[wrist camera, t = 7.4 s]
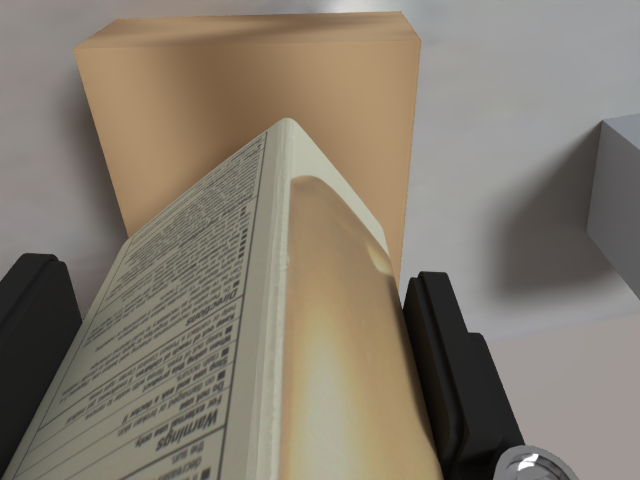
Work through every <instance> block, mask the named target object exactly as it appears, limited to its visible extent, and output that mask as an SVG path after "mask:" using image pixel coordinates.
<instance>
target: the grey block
mask: <svg viewBox="0 0 640 480" xmlns="http://www.w3.org/2000/svg"><path fill="white" fill-rule="evenodd" d="M586 233H587V234H588V235H589V237H590V238H591V239H592V240H593V242H594V243H595V244H596V245H597V247H598V248H599V249H600V250H601V252H602V253H603V254H604V256H605V257H606V258H607V259H608V261H609V262H610V263H611V264H612V266H613V267H614V268H615V269H616V271H617V272H618V273H619V275H620V276H621V277H622V278H623V280H624V281H625V282H626V283H627V285H628V286H629V287H630V288H631V290H632V291H633V292H634V294H635V295H636V296H637V297H638V299H639V300H640V113H639V114H634V115H628V116H622V117H616V118H611V119H605V120H602V126H601V133H600V140H599V146H598V153H597V160H596V167H595V174H594V181H593V187H592V194H591V201H590V208H589V215H588V221H587V228H586Z"/></svg>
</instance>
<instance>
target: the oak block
mask: <svg viewBox="0 0 640 480" xmlns="http://www.w3.org/2000/svg"><path fill="white" fill-rule="evenodd" d="M420 49H421V39H420V37H419V36H418V35H417V33H416V32H415V30H414V29H413V28H412V26H411V25H410V24H409V22H408V21H407V19H406V18H405V17H404V15H403V14H402V12H401V11H397V12H358V13H319V14H280V15H241V16H202V17H164V18H125V19H117V20H115V21H114V22H112V23H111V24H109V25H108V26H106V27H105V28H103V29H102V30H100V31H99V32H97V33H96V34H94V35H93V36H91V37H90V38H88V39H87V40H85V41H84V42H82V43H81V44H79V45H78V46H76V47H75V48H73V52H74V55H75V59H76V62H77V66H78V69H79V72H80V76H81V79H82V82H83V86H84V89H85V93H86V96H87V99H88V103H89V106H90V109H91V113H92V116H93V120H94V123H95V126H96V130H97V133H98V136H99V140H100V143H101V146H102V150H103V153H104V157H105V160H106V163H107V167H108V170H109V173H110V177H111V180H112V184H113V187H114V190H115V194H116V197H117V200H118V204H119V207H120V211H121V214H122V217H123V221H124V224H125V227H126V231H127V234H128V238H130V237H132V236H133V235H134V234H135V233H136V232H137V231H139V230H140V229H141V228H142V227H143V226H144V225H145V224H147V223H148V222H149V221H150V220H151V219H153V218H154V217H155V216H156V215H157V214H159V213H160V212H161V211H162V210H163V209H165V208H166V207H167V206H168V205H169V204H171V203H172V202H173V201H174V200H176V199H177V198H178V197H179V196H181V195H182V194H183V193H184V192H186V191H187V190H188V189H189V188H191V187H192V186H193V185H194V184H196V183H197V182H198V181H199V180H201V179H202V178H203V177H204V176H206V175H207V174H208V173H209V172H211V171H212V170H213V169H215V168H216V167H217V166H218V165H220V164H221V163H222V162H224V161H225V160H226V159H228V158H229V157H230V156H232V155H233V154H234V153H236V152H237V151H238V150H240V149H241V148H242V147H244V146H245V145H246V144H248V143H249V142H250V141H252V140H253V139H254V138H256V137H257V136H259V135H260V134H261V133H263V132H264V131H266V130H267V129H268V128H270V127H271V126H272V125H274V124H275V123H276V122H278V121H279V120H281V119H283V118H291V119H293V120H294V121H296V122H297V123H298V124H299V125H300V126H301V128H302V129H303V130H304V131H305V132H306V133H307V134H308V136H309V137H310V138H311V139H312V140H313V142H314V143H315V144H316V145H317V146H318V148H319V149H320V150H321V151H322V152H323V154H324V155H325V156H326V157H327V158H328V160H329V161H330V162H331V163H332V164H333V166H334V167H335V168H336V169H337V170H338V172H339V173H340V174H341V175H342V177H343V178H344V179H345V180H346V181H347V183H348V184H349V185H350V186H351V188H352V189H353V190H354V192H355V193H356V194H357V195H358V196H359V198H360V199H361V200H362V202H363V203H364V204H365V206H366V207H367V208H368V209H369V211H370V212H371V213H372V215H373V216H374V217H375V218H376V220H377V221H378V222H379V224H380V225H381V227H382V229H383V232H384V235H385V240H386V244H387V247H388V252H389V256H390V260H391V264H392V268H393V273H394V277H395V281H396V285H397V290H398V291H399V280H400V269H401V258H402V247H403V236H404V225H405V214H406V203H407V192H408V181H409V170H410V159H411V148H412V137H413V126H414V115H415V104H416V93H417V82H418V71H419V60H420Z"/></svg>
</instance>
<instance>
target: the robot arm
mask: <svg viewBox="0 0 640 480" xmlns="http://www.w3.org/2000/svg"><path fill="white" fill-rule="evenodd" d="M403 314H404V318H405V323H406V326H407V330H408V334H409V338H410V342H411V346H412V350H413V354H414V358H415V362H416V366H417V370H418V374H419V378H420V383H421V387H422V391H423V395H424V400H425V404H426V408H427V413H428V417H429V421H430V425H431V429H432V434H433V438H434V442H435V446H436V450H437V454H438V458H439V462H440V466H441V470H442V474H443V478H444V480H579V479H578V477H577V476H576V475H575V473H574V472H573V471H572V469H571V468H570V467H569V466H568V465H566V464H565V463H564V462H563V461H562V460H561V459H560V458H558V457H557V456H555V455H553V454H552V453H550V452H548V451H547V450H544V449H541V448H537V447H534V446H526V445H525V443H524V440H523V437H522V435H521V432H520V430H519V427H518V424H517V422H516V419H515V417H514V414H513V412H512V409H511V406H510V404H509V401H508V399H507V396H506V393H505V391H504V388H503V385H502V383H501V380H500V378H499V375H498V372H497V370H496V367H495V365H494V362H493V359H492V357H491V354H490V352H489V349H488V346H487V344H486V341H485V339H484V337H483V336H482V335H481V334H480V333H469V332H468V331H467V328H466V325H465V322H464V320H463V317H462V314H461V311H460V308H459V305H458V303H457V300H456V297H455V294H454V291H453V288H452V285H451V283H450V280H449V277H448V275H447V273H445V272H425V271H421V272H420V273H419V275H418V278H414V277H412V278H410V280H409V284H408V289H407V293H406V298H405V302H404V306H403ZM82 323H83V322H82V319H81V315H80V312H79V308H78V305H77V301H76V298H75V294H74V290H73V287H72V283H71V280H70V276H69V273H68V269H67V266H66V264H65V263H64V262H62V261H59V260H58V258H57V257H56V256H55V255H53V254H35V253H25V254H23V255H22V256H21V257H20V258H19V259H18V260H17V261H16V263H15V264H14V265H13V266H12V268H11V269H10V270H9V271H8V273H7V274H6V275H5V276H4V278H3V279H2V280H1V282H0V480H1V478H2V477H3V475H4V473H5V471H6V469H7V467H8V465H9V463H10V461H11V459H12V457H13V455H14V454H15V452H16V450H17V448H18V446H19V444H20V442H21V440H22V438H23V436H24V434H25V432H26V430H27V429H28V427H29V425H30V423H31V421H32V419H33V417H34V415H35V413H36V411H37V409H38V407H39V405H40V403H41V401H42V400H43V398H44V396H45V394H46V392H47V390H48V388H49V387H50V385H51V383H52V381H53V379H54V377H55V375H56V373H57V371H58V369H59V367H60V365H61V363H62V361H63V359H64V357H65V356H66V354H67V352H68V350H69V348H70V346H71V344H72V342H73V340H74V338H75V336H76V335H77V333H78V331H79V329H80V327H81V325H82Z"/></svg>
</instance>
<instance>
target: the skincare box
mask: <svg viewBox="0 0 640 480" xmlns="http://www.w3.org/2000/svg"><path fill="white" fill-rule="evenodd" d="M1 480H444V478H443V474H442V470H441V466H440V462H439V458H438V454H437V450H436V446H435V442H434V438H433V434H432V429H431V425H430V421H429V417H428V413H427V408H426V404H425V400H424V395H423V391H422V387H421V383H420V378H419V374H418V370H417V366H416V362H415V358H414V354H413V350H412V346H411V342H410V338H409V334H408V330H407V326H406V323H405V318H404V314H403V310H402V306H401V302H400V298H399V294H398V290H397V285H396V281H395V277H394V273H393V268H392V264H391V260H390V256H389V252H388V247H387V244H386V240H385V235H384V232H383V229H382V227H381V225H380V224H379V222H378V221H377V220H376V218H375V217H374V216H373V215H372V213H371V212H370V211H369V209H368V208H367V207H366V206H365V204H364V203H363V202H362V200H361V199H360V198H359V196H358V195H357V194H356V193H355V192H354V190H353V189H352V188H351V186H350V185H349V184H348V183H347V181H346V180H345V179H344V178H343V177H342V175H341V174H340V173H339V172H338V170H337V169H336V168H335V167H334V166H333V164H332V163H331V162H330V161H329V160H328V158H327V157H326V156H325V155H324V154H323V152H322V151H321V150H320V149H319V148H318V146H317V145H316V144H315V143H314V142H313V140H312V139H311V138H310V137H309V136H308V134H307V133H306V132H305V131H304V130H303V129H302V128H301V126H300V125H299V124H298V123H297V122H296V121H294V120H293V119H291V118H283V119H281V120H279V121H278V122H276V123H275V124H274V125H272V126H271V127H270V128H268V129H267V130H266V131H264V132H263V133H261V134H260V135H259V136H257V137H256V138H254V139H253V140H252V141H250V142H249V143H248V144H246V145H245V146H244V147H242V148H241V149H240V150H238V151H237V152H236V153H234V154H233V155H232V156H230V157H229V158H228V159H226V160H225V161H224V162H222V163H221V164H220V165H218V166H217V167H216V168H215V169H213V170H212V171H211V172H209V173H208V174H207V175H206V176H204V177H203V178H202V179H201V180H199V181H198V182H197V183H196V184H194V185H193V186H192V187H191V188H189V189H188V190H187V191H186V192H184V193H183V194H182V195H181V196H179V197H178V198H177V199H176V200H174V201H173V202H172V203H171V204H169V205H168V206H167V207H166V208H165V209H163V210H162V211H161V212H160V213H159V214H157V215H156V216H155V217H154V218H153V219H151V220H150V221H149V222H148V223H147V224H145V225H144V226H143V227H142V228H141V229H140V230H139V231H137V232H136V233H135V234H134V235H133V236H132V237H130V238H129V239H128V240H127V241H126V242H125V243H124V244H123V246H122V248H121V249H120V251H119V253H118V255H117V257H116V259H115V261H114V263H113V265H112V267H111V269H110V271H109V273H108V275H107V277H106V279H105V280H104V282H103V284H102V286H101V288H100V290H99V292H98V294H97V296H96V297H95V299H94V301H93V303H92V305H91V307H90V309H89V311H88V313H87V315H86V317H85V319H84V321H83V323H82V325H81V327H80V329H79V331H78V333H77V335H76V336H75V338H74V340H73V342H72V344H71V346H70V348H69V350H68V352H67V354H66V356H65V357H64V359H63V361H62V363H61V365H60V367H59V369H58V371H57V373H56V375H55V377H54V379H53V381H52V383H51V385H50V387H49V388H48V390H47V392H46V394H45V396H44V398H43V400H42V401H41V403H40V405H39V407H38V409H37V411H36V413H35V415H34V417H33V419H32V421H31V423H30V425H29V427H28V429H27V430H26V432H25V434H24V436H23V438H22V440H21V442H20V444H19V446H18V448H17V450H16V452H15V454H14V455H13V457H12V459H11V461H10V463H9V465H8V467H7V469H6V471H5V473H4V475H3V477H2V478H1Z"/></svg>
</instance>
